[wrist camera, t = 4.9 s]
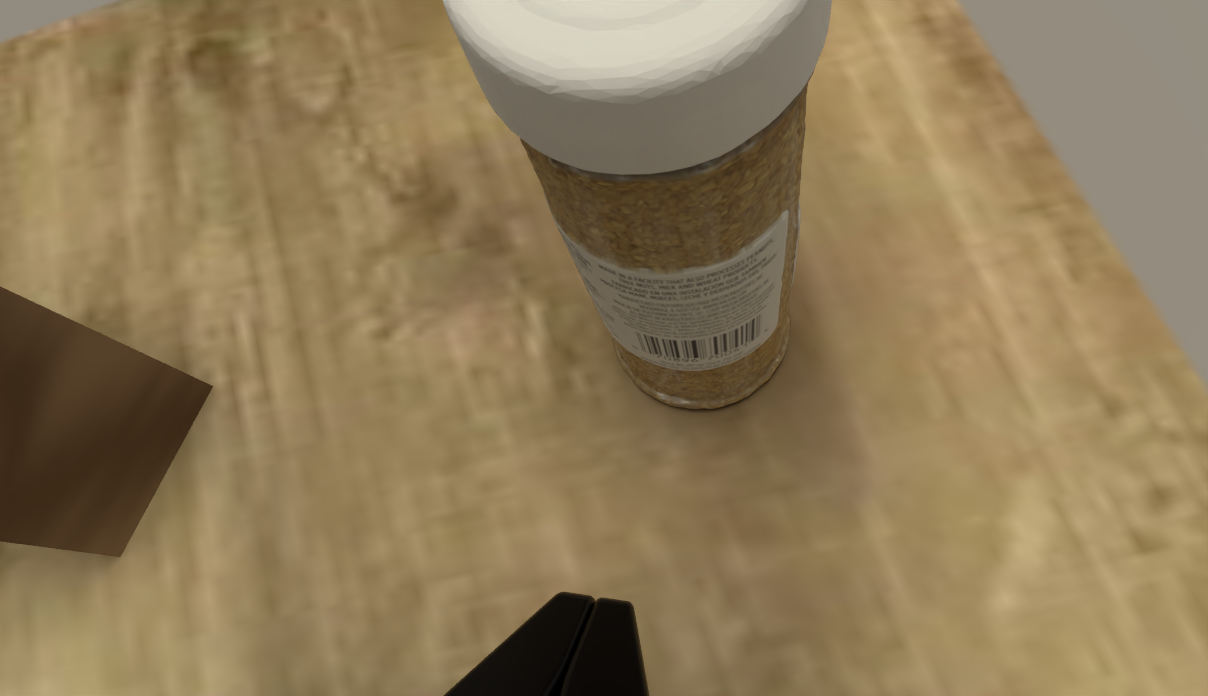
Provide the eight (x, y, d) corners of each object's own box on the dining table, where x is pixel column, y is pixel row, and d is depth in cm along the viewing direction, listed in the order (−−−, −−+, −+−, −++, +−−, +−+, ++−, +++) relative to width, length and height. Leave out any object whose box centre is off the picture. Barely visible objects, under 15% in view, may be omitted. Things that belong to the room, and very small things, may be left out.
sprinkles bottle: (800, 260, 22) (868, -254, 9) (775, 430, 20) (813, 99, 8) (629, 240, 23) (480, -249, 10) (594, 400, 21) (373, 65, 9)
